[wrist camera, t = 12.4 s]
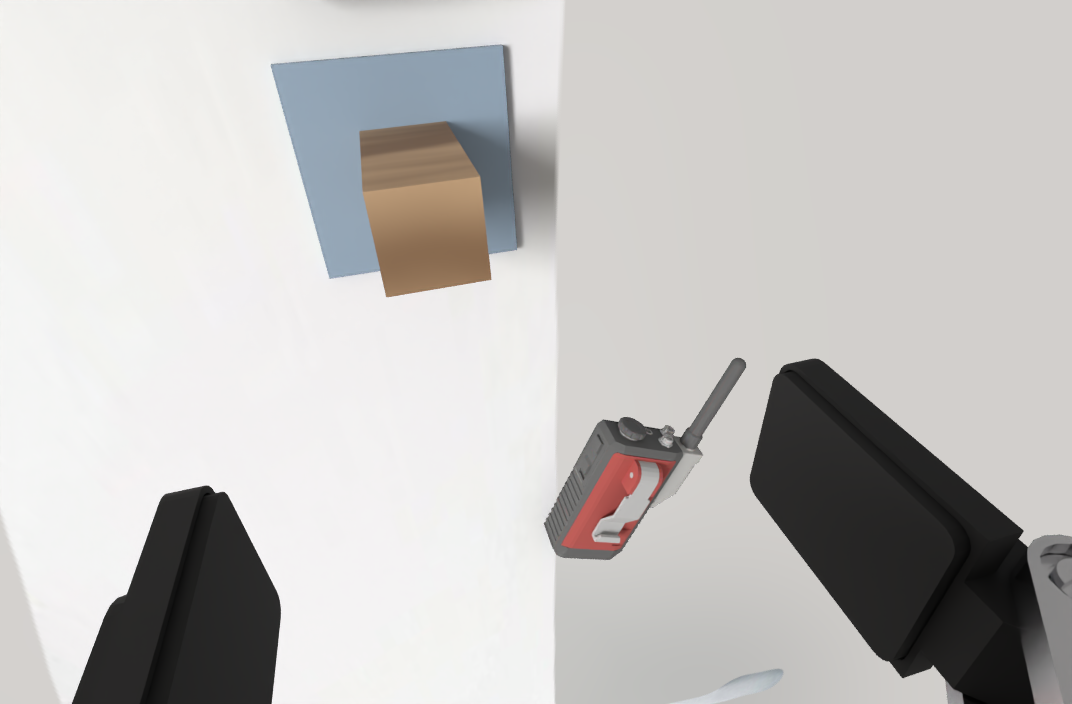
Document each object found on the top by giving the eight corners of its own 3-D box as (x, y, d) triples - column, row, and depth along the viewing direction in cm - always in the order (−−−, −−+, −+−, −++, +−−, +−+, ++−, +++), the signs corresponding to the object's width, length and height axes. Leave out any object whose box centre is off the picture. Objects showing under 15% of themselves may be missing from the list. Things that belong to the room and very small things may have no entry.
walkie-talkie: (622, 541, 50) (743, 352, 42) (642, 584, 47) (780, 387, 38) (531, 535, 47) (644, 326, 38) (546, 582, 43) (674, 363, 35)
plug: (359, 131, 27) (362, 192, 19) (445, 120, 27) (480, 176, 20) (377, 214, 29) (386, 297, 22) (456, 203, 30) (491, 279, 22)
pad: (271, 64, 25) (270, 65, 24) (500, 44, 26) (502, 45, 26) (329, 275, 30) (329, 278, 30) (515, 246, 32) (517, 249, 32)
